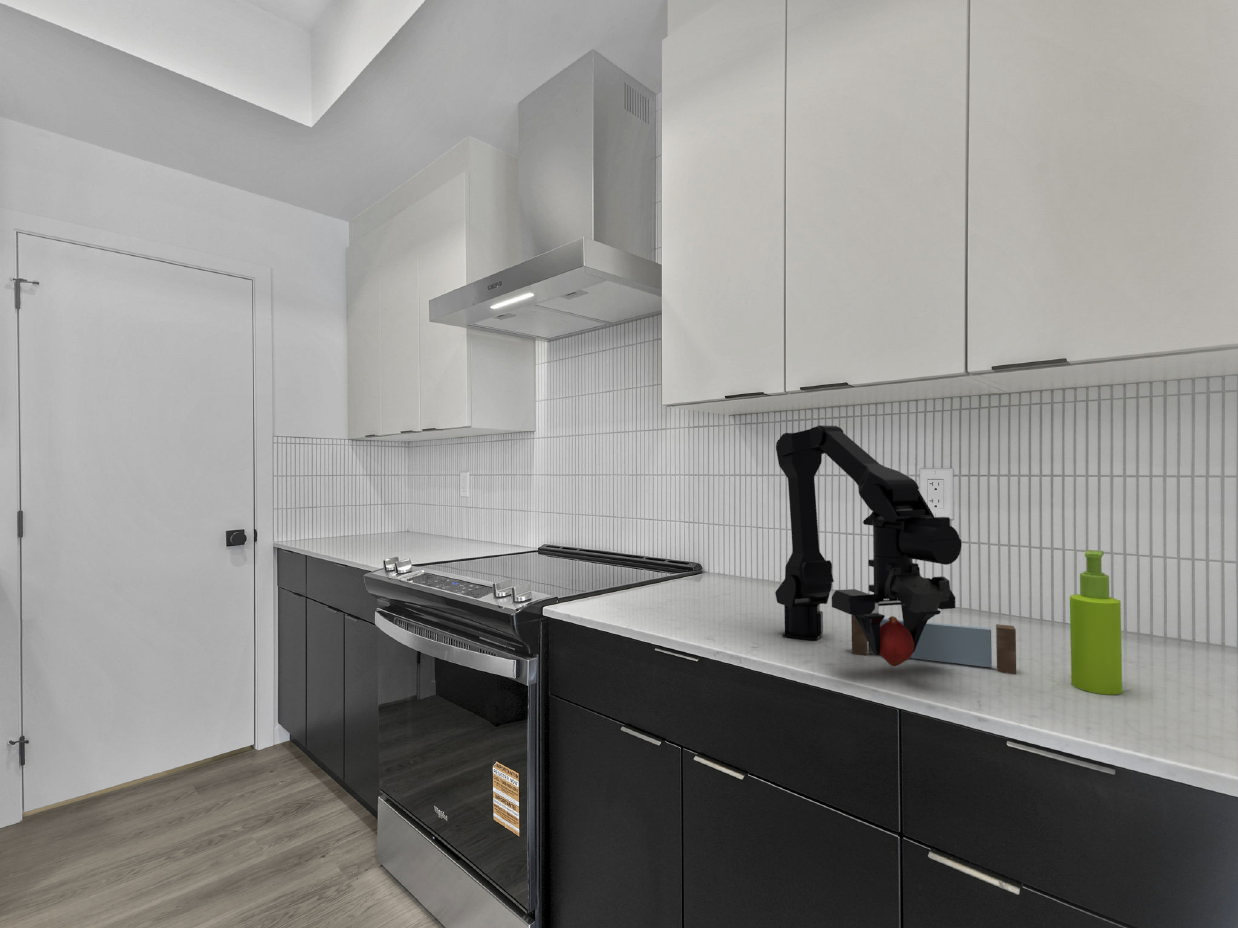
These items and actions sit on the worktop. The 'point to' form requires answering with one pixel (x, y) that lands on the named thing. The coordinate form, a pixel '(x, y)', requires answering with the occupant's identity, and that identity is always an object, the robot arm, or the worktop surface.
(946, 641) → the door
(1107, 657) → the soap dispenser
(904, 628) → the onion
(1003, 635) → the door frame
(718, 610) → the worktop surface
